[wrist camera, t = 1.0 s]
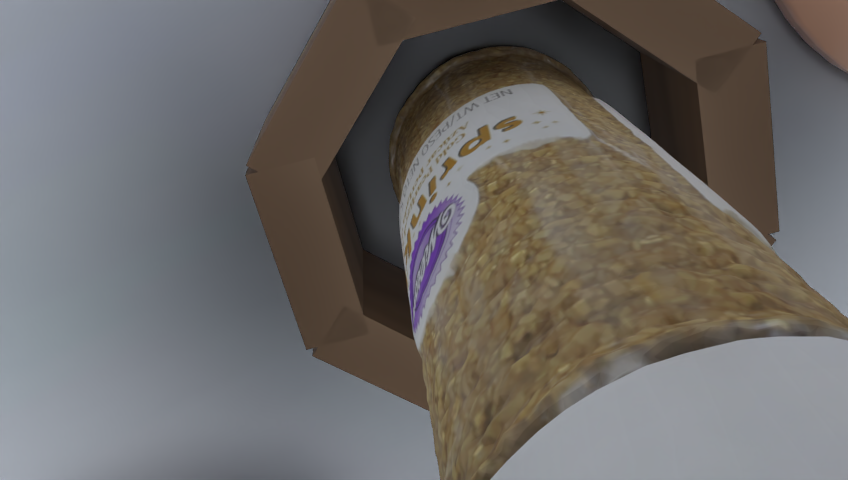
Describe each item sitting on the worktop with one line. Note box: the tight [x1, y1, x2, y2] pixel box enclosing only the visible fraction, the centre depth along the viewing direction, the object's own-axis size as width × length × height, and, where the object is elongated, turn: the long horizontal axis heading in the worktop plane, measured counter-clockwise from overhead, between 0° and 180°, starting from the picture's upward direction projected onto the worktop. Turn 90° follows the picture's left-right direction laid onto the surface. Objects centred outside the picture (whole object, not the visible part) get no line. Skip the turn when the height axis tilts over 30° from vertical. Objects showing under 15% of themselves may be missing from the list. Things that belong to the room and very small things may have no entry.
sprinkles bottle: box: [389, 46, 848, 480], centre depth 11 cm, size 5×5×13 cm
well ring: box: [245, 0, 779, 411], centre depth 15 cm, size 9×9×3 cm
